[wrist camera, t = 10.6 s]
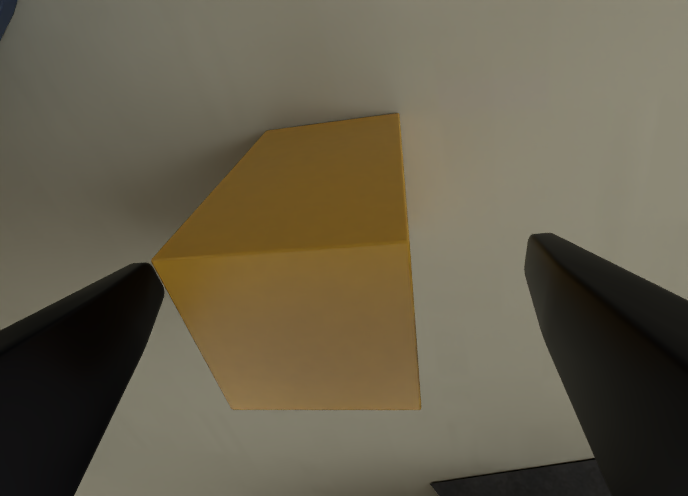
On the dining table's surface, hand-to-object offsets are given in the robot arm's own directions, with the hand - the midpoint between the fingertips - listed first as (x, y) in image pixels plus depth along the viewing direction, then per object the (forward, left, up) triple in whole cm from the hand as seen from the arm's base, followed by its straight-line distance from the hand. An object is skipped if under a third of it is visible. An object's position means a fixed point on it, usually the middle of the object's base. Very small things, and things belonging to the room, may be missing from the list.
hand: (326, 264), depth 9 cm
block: (0, 0, -5) cm, 5 cm away
